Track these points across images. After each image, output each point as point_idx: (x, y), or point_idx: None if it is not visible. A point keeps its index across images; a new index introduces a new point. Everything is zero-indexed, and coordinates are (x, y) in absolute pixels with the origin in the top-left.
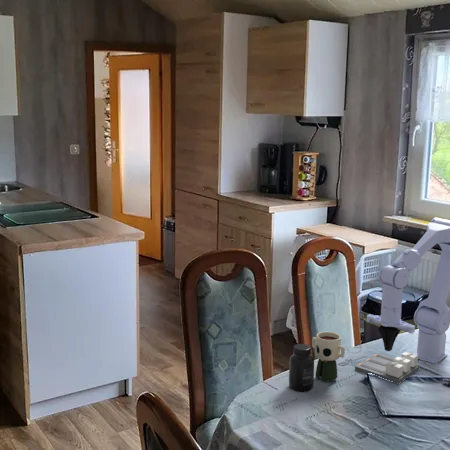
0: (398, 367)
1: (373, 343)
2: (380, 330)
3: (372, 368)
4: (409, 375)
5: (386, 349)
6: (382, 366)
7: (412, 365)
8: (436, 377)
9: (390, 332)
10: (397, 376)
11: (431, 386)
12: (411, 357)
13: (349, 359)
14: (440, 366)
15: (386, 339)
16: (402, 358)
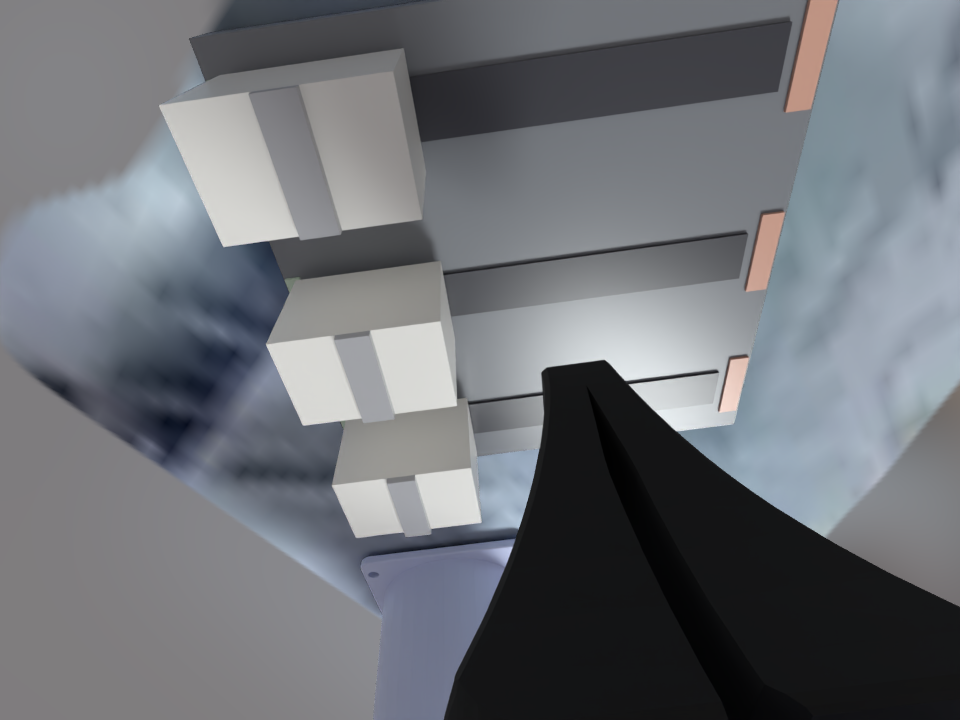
0: (178, 113)
1: (817, 523)
2: (922, 641)
3: (623, 80)
4: None
5: (582, 370)
6: (566, 233)
7: (356, 421)
8: (195, 434)
9: (548, 716)
10: (227, 76)
11: (46, 281)
12: (363, 476)
13: (945, 171)
14: (324, 553)
15: (640, 495)
16: (376, 389)
